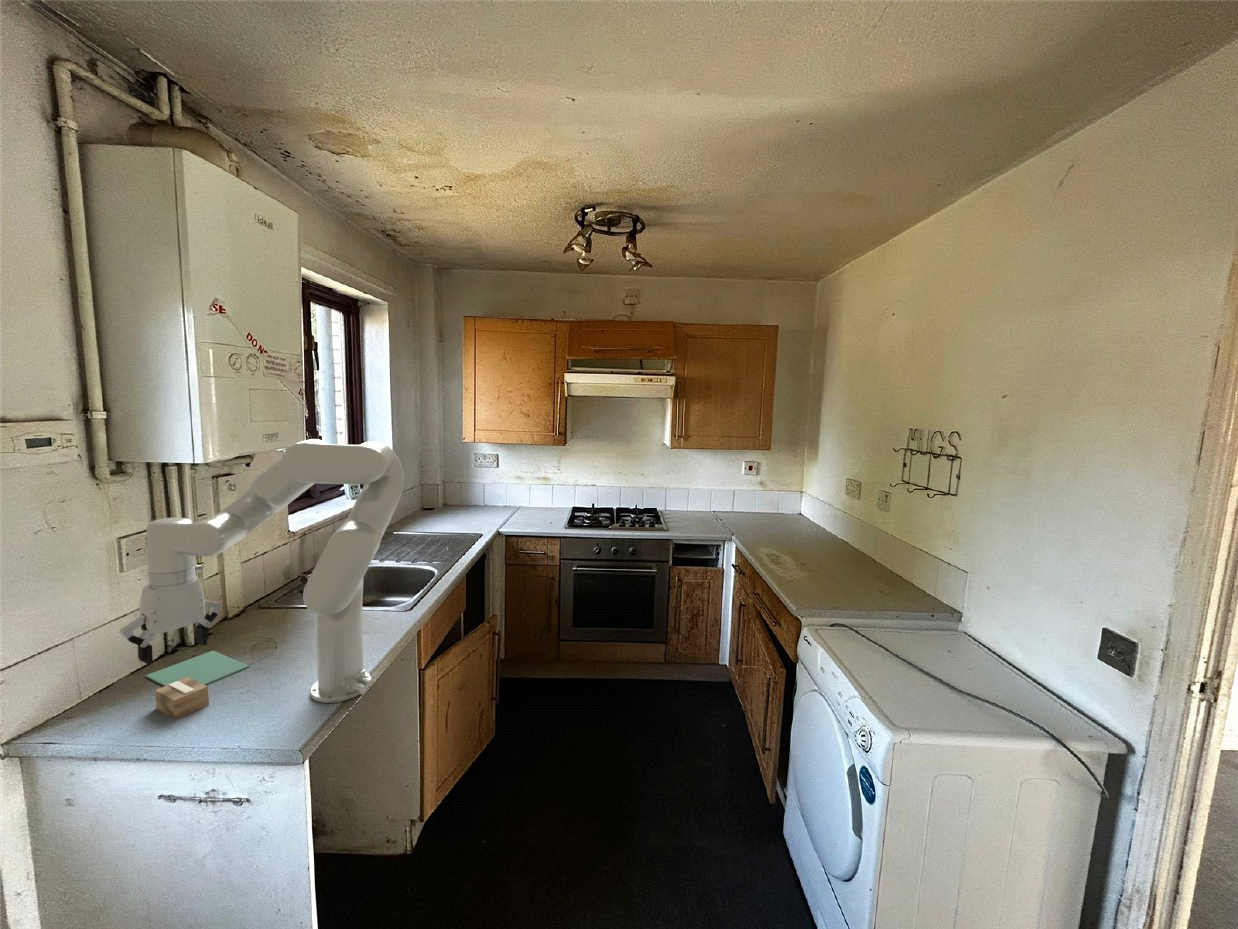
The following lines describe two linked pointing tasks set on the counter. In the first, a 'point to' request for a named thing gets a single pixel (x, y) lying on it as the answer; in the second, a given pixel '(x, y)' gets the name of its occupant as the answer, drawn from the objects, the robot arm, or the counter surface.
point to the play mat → (199, 669)
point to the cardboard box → (181, 697)
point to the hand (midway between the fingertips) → (175, 652)
